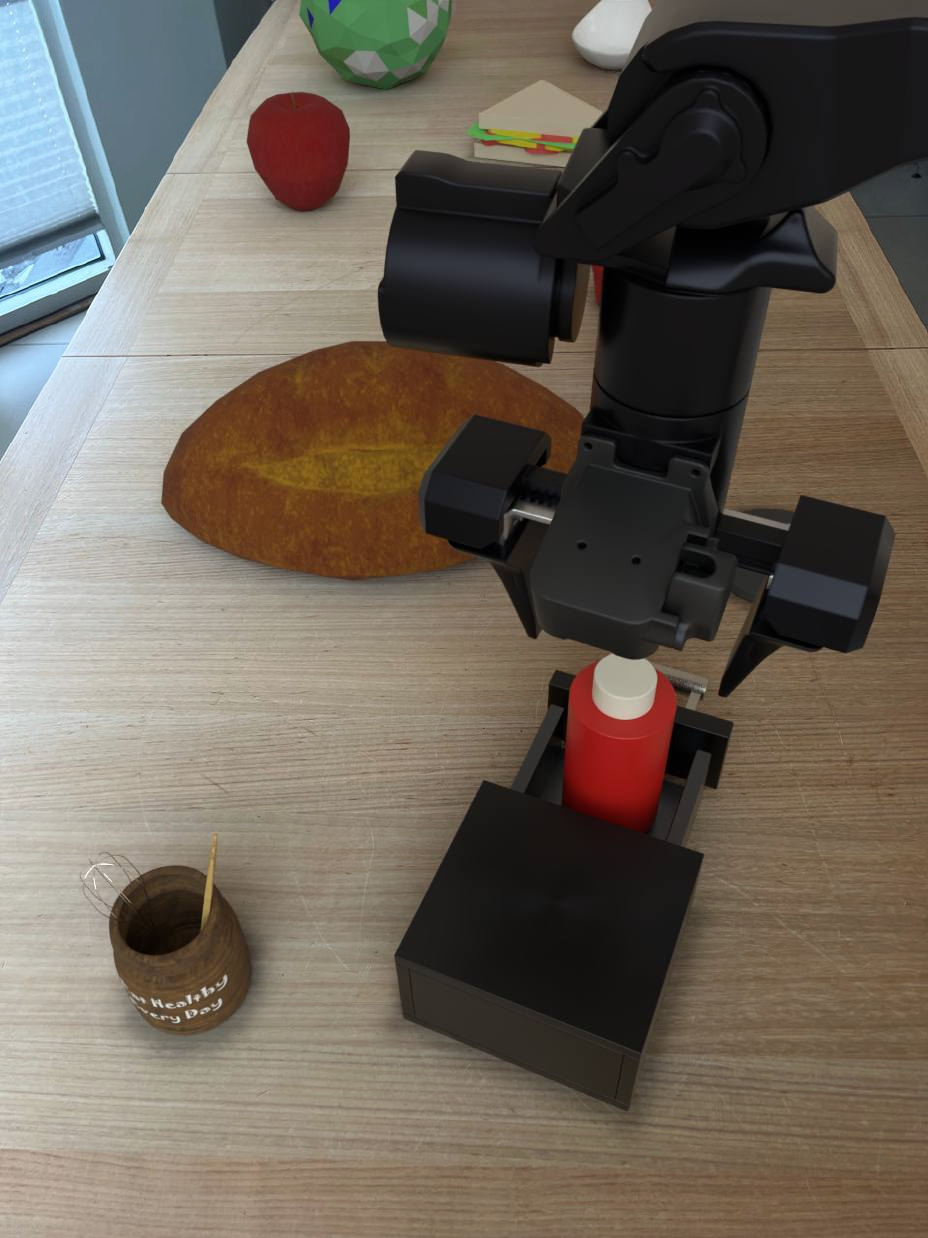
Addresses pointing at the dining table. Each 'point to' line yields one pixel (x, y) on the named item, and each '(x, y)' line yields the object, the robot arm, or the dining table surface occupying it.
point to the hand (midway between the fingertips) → (627, 660)
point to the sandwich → (533, 126)
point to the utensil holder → (178, 947)
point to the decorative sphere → (378, 37)
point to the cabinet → (549, 941)
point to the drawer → (689, 757)
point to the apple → (299, 148)
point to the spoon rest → (610, 32)
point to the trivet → (748, 580)
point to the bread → (344, 456)
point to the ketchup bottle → (618, 741)
